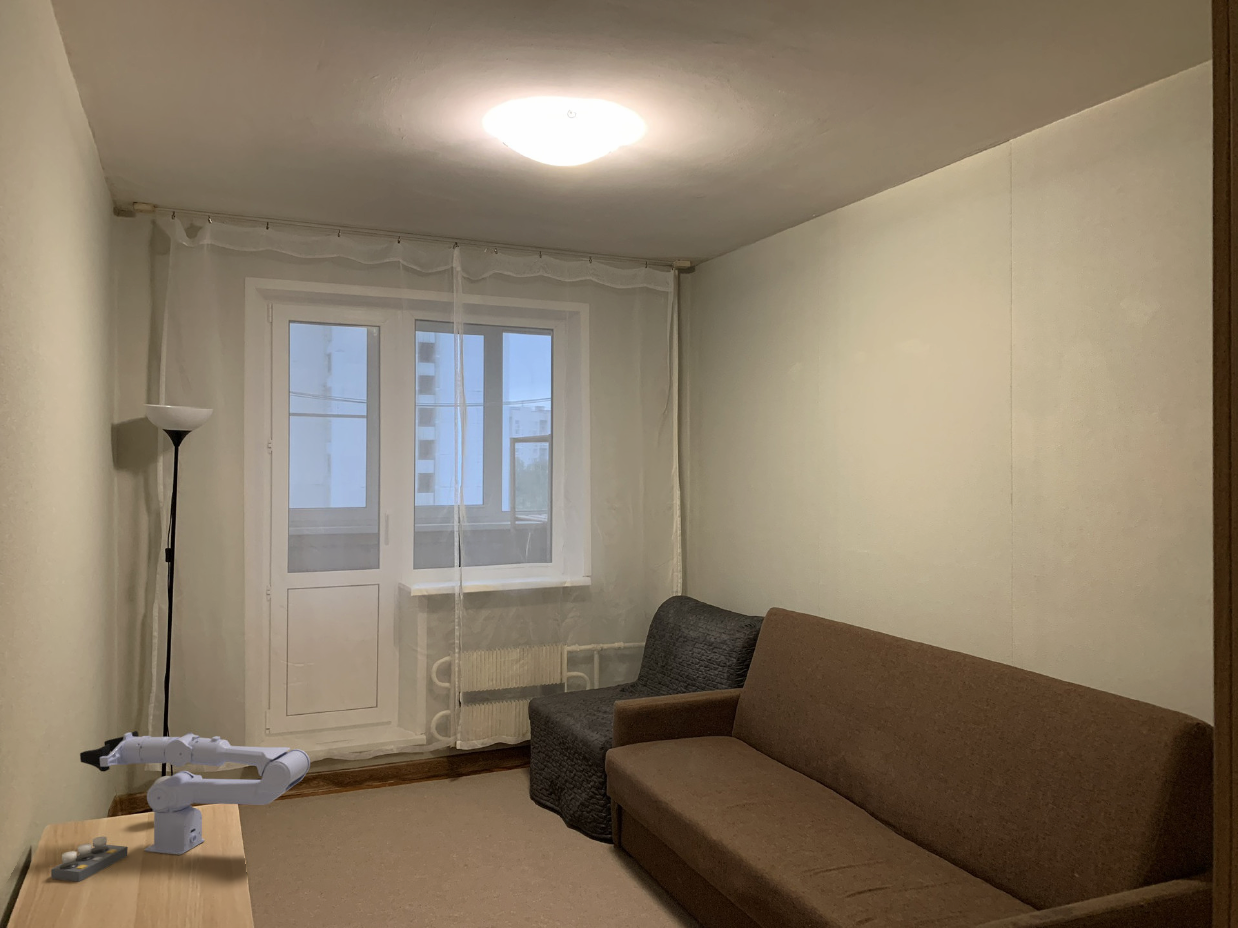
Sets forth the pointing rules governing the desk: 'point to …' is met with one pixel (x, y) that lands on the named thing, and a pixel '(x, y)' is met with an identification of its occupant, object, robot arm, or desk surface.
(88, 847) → the button middle
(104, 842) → the button right
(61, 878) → the switch panel
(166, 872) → the desk surface
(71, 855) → the button left
